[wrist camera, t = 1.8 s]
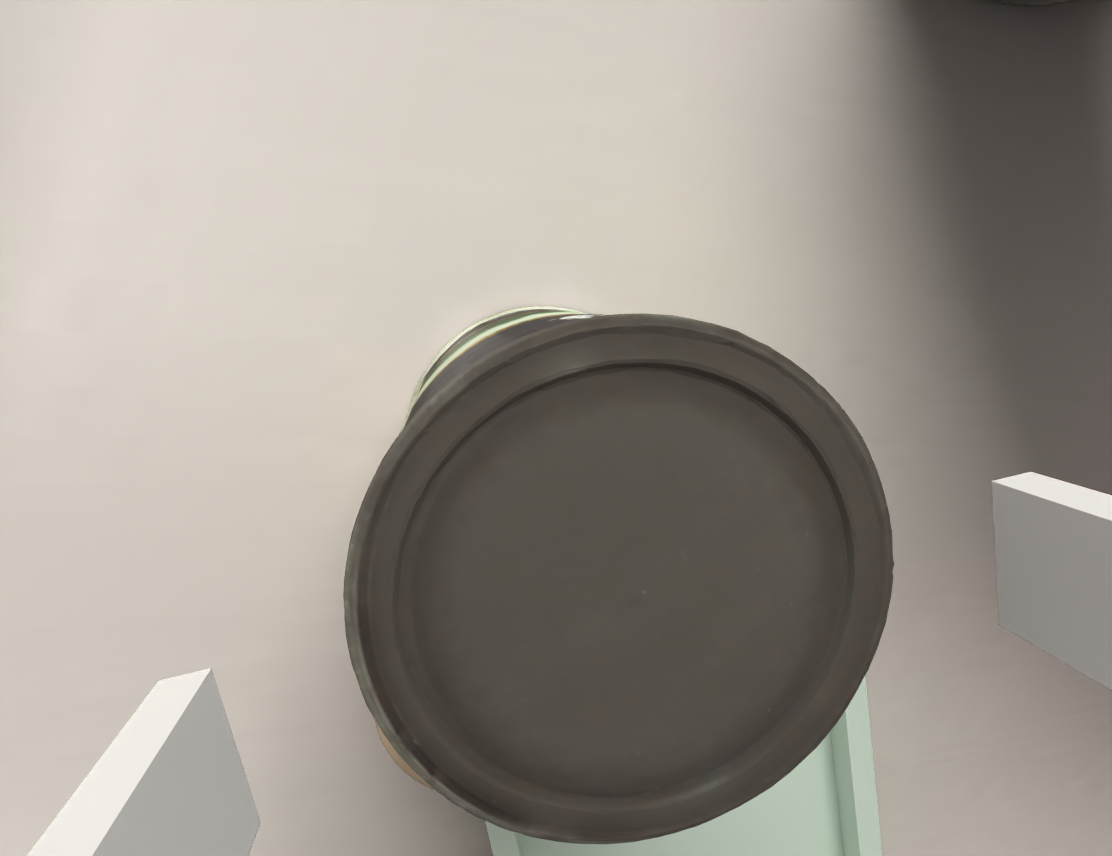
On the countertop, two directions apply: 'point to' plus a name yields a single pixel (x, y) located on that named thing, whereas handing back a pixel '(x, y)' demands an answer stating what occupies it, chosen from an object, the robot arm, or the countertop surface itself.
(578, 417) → the coffee can
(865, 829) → the tray
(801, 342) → the countertop surface
